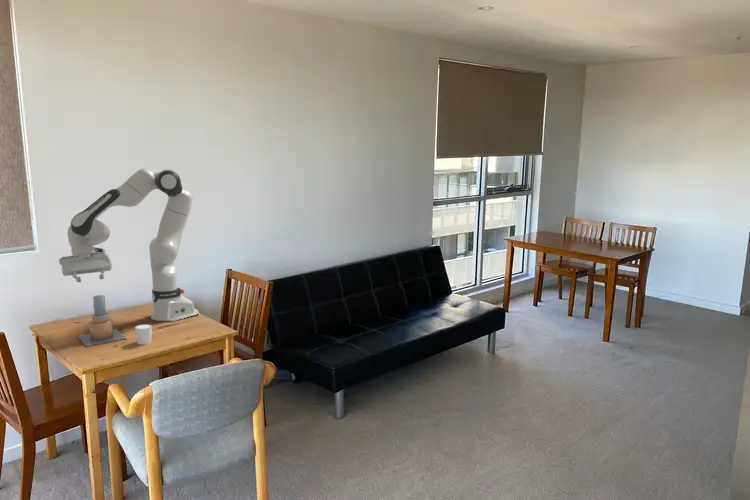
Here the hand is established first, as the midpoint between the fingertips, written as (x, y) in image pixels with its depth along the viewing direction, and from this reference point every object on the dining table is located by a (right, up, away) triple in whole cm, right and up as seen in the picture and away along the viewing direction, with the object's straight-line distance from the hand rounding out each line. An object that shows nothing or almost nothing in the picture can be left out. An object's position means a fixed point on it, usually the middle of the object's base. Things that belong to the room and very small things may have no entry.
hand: (90, 280), depth 253 cm
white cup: (+28, -26, -9) cm, 39 cm away
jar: (+7, -25, -5) cm, 27 cm away
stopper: (+8, -15, -7) cm, 19 cm away
